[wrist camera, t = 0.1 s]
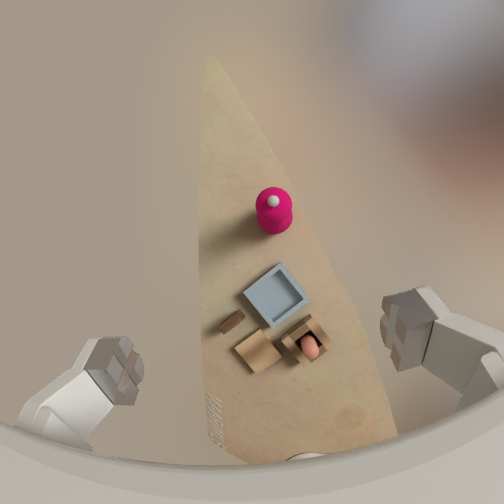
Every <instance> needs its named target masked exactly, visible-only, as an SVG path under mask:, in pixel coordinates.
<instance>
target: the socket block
mask: <svg viewBox="0 0 504 504" xmlns="http://www.w3.org/2000/svg"><path fill="white" fill-rule="evenodd" d="M310 329H311V331H312V332H313V333H314V334H315V336H316V337H317V338H318V339H319V341H318V342H316V344H317V346H318V349H319V354H318V356H317V357H316V358H314V359H307V358H306V357H305V356H304V353H303V349H302V348H301V347H300V345H299V344H298V343H297V342H296V340H297V339H298V338H300V337H301V336H302V335H304V334H305V333H306V332H308V331H309V330H310ZM281 338H282V342H283V343H284V344H285V346H286V347H287V348H288V349H289V350H290V352H291V353H292V354H293V355H294V356H295V358H296V359H297V360H298V361H299V362H300V363H301V365H302V366H303V367H304V368H305V367H306V366H308V365H309V364H310V363H312V362H313V361H315V360H316V359H317V358H319V357H320V356H321V355H323V354H324V353H325V352H326V351H328V350H329V349H330V348H332V347H333V346H334V344H333V342H332V341H331V340H330V338H329V337H328V336H327V335H326V333H325V332H324V331H323V329H322V328H321V327H320V326H319V324H318V323H317V322H316V321H315V319H314V318H313V317H312V316H311V314H309V315H308V316H307V317H306V318H304V319H303V320H302V321H301V322H299V323H298V324H297V325H295V326H294V327H293V328H291V329H290V330H289V331H288V332H286V333H285V334H284V335H282V336H281Z"/></svg>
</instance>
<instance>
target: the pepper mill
mask: <svg viewBox="0 0 504 504" xmlns="http://www.w3.org/2000/svg"><path fill="white" fill-rule="evenodd" d="M291 209H292V201H291V198H290V196H289V195H288V193H287V192H286V191H284V190H283V189H281V188H277V187H270V188H267V189H265V190H263V191H262V192H261V193H260V194H259V195H258V197H257V200H256V211H257V220H258V223H259V225H260V226H261V228H262V229H263V230H265V231H266V232H268V233H272V234H278V233H281V232H284V231H285V230H286V229H288V227H289V226H290V224H291V222H292V217H293V216H292V210H291Z"/></svg>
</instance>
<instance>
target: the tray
mask: <svg viewBox="0 0 504 504" xmlns="http://www.w3.org/2000/svg"><path fill="white" fill-rule="evenodd" d="M243 293H244V294H245V296H246V297H247V298H248V299H249V300H250V302H251V303H252V304H253V305H254V307H255V308H256V309H257V310H258V312H259V313H260V314H261V315H262V317H263V318H264V319H265V320H266V321H267V323H268V324H269V325H270V326H271V328H272V329H274V328H275V327H276V326H277V325H279V324H280V323H281V322H283V321H284V320H285V319H287V318H288V317H289V316H290V315H292V314H293V313H294V312H296V311H297V310H298V309H299V308H301V307H302V306H303V305H304V304H306V303H307V302H308V301H309V300H310V298H309V297H308V296H307V295H306V293H305V292H304V291H303V290H302V288H301V287H300V286H299V285H298V283H297V282H296V281H295V280H294V278H293V277H292V276H291V275H290V273H289V272H288V271H287V270H286V268H285V267H284V266H283V265H282V263H281V262H280V263H279V264H278V265H276V266H275V267H274V268H273V269H271V270H270V271H269V272H268V273H266V274H265V275H264V276H263V277H261V278H260V279H259V280H258V281H256V282H255V283H254V284H253V285H251V286H250V287H249V288H248V289H246V290H245V291H244V292H243Z"/></svg>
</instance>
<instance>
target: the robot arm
mask: <svg viewBox="0 0 504 504" xmlns="http://www.w3.org/2000/svg"><path fill="white" fill-rule="evenodd" d="M382 309H383V311H384V312H385V313H384V315H383V316H382V317H381V320H380V330H381V336H382V339H383V342H384V344H385V346H386V347H387V348H389V349H391V350H392V351H391V356H390V357H391V359H392V361H393V363H394V365H395V367H396V370H397V371H398V372H400V371H404V370H407V369H410V368H413V367H417V366H420V365H422V367H424V368H425V369H427V370H428V371H430V372H431V373H432V374H434V375H435V376H437V377H438V378H440V379H441V380H443V381H444V382H446V383H447V384H448V385H450V386H451V387H453V388H454V389H455V390H457V391H458V392H460V393H461V394H463V395H462V396H461V398H460V400H459V402H458V403H457V405H456V407H455V409H454V411H455V413H453V414H451V415H449V416H447V417H445V418H442V419H440V420H438V421H436V422H433V423H431V424H428V425H426V426H423V427H421V428H418V429H415V430H413V431H410V432H407V433H404V434H402V435H399V436H396V437H393V438H389V439H386V440H383V441H380V442H376V443H373V444H369V445H366V446H362V447H358V448H354V449H350V450H346V451H341V452H337V453H330V454H318V453H305V454H300V455H297V456H294V457H292V458H290V459H289V460H288V461H283V462H274V463H263V464H249V465H221V466H209V465H205V466H204V465H180V464H166V463H155V462H147V461H139V460H132V459H126V458H120V457H114V456H108V455H104V454H99V453H95V452H93V449H92V447H91V446H90V445H89V444H88V443H86V442H85V441H84V439H85V438H86V437H87V436H88V435H89V433H90V432H91V431H92V430H93V429H94V428H95V427H96V426H97V425H98V423H99V422H100V421H101V420H102V419H103V418H104V417H105V416H106V414H107V413H108V412H109V411H110V410H111V409H112V408H113V407H114V405H134V404H135V401H136V397H137V394H138V391H139V390H138V387H137V385H138V384H139V383H140V382H141V381H142V379H143V375H144V364H143V361H142V359H141V357H140V355H139V354H138V353H136V352H134V351H133V350H132V349H133V344H132V342H131V341H130V339H129V338H128V337H125V336H124V337H102V338H101V337H100V338H91V339H89V340H88V341H87V343H86V344H85V346H84V348H83V350H82V351H81V353H80V355H79V357H78V358H77V360H76V362H75V364H74V365H73V367H72V369H68V370H67V371H65V372H64V373H63V374H61V375H60V376H59V377H57V378H56V379H55V380H54V381H52V382H51V383H50V384H48V385H47V386H46V387H44V388H43V389H42V390H41V391H39V392H38V393H37V394H36V395H34V396H33V397H32V398H30V399H29V400H28V401H27V402H26V403H25V405H24V407H23V409H22V411H21V413H20V415H19V416H18V418H17V421H16V423H15V425H14V426H13V427H12V426H10V425H8V424H6V423H3V422H1V421H0V504H504V333H503V332H500V331H498V330H495V329H493V328H490V327H488V326H486V325H483V324H481V323H479V322H476V321H474V320H471V319H469V318H467V317H464V316H462V315H459V314H453V315H452V313H451V312H450V311H449V310H448V308H447V307H446V306H445V305H444V303H443V302H442V301H441V300H440V299H439V297H438V296H437V295H436V294H435V293H434V292H433V290H431V288H430V287H429V286H427V285H423V286H420V287H416V288H413V289H411V290H407V291H404V292H399V293H395V294H392V295H388V296H384V297H383V300H382Z"/></svg>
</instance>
